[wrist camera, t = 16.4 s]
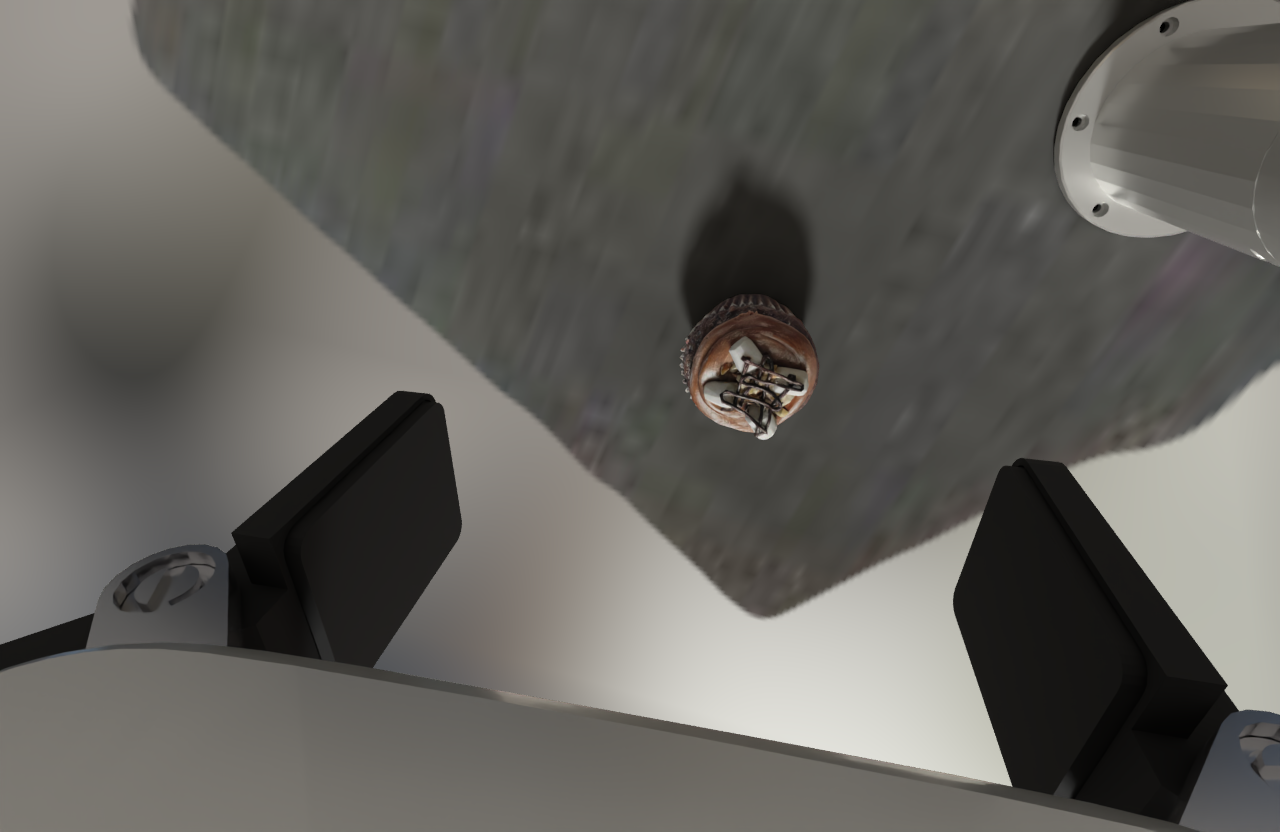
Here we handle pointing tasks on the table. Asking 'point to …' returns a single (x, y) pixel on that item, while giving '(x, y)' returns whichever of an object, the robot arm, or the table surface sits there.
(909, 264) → the table surface
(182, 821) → the robot arm
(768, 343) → the cupcake
